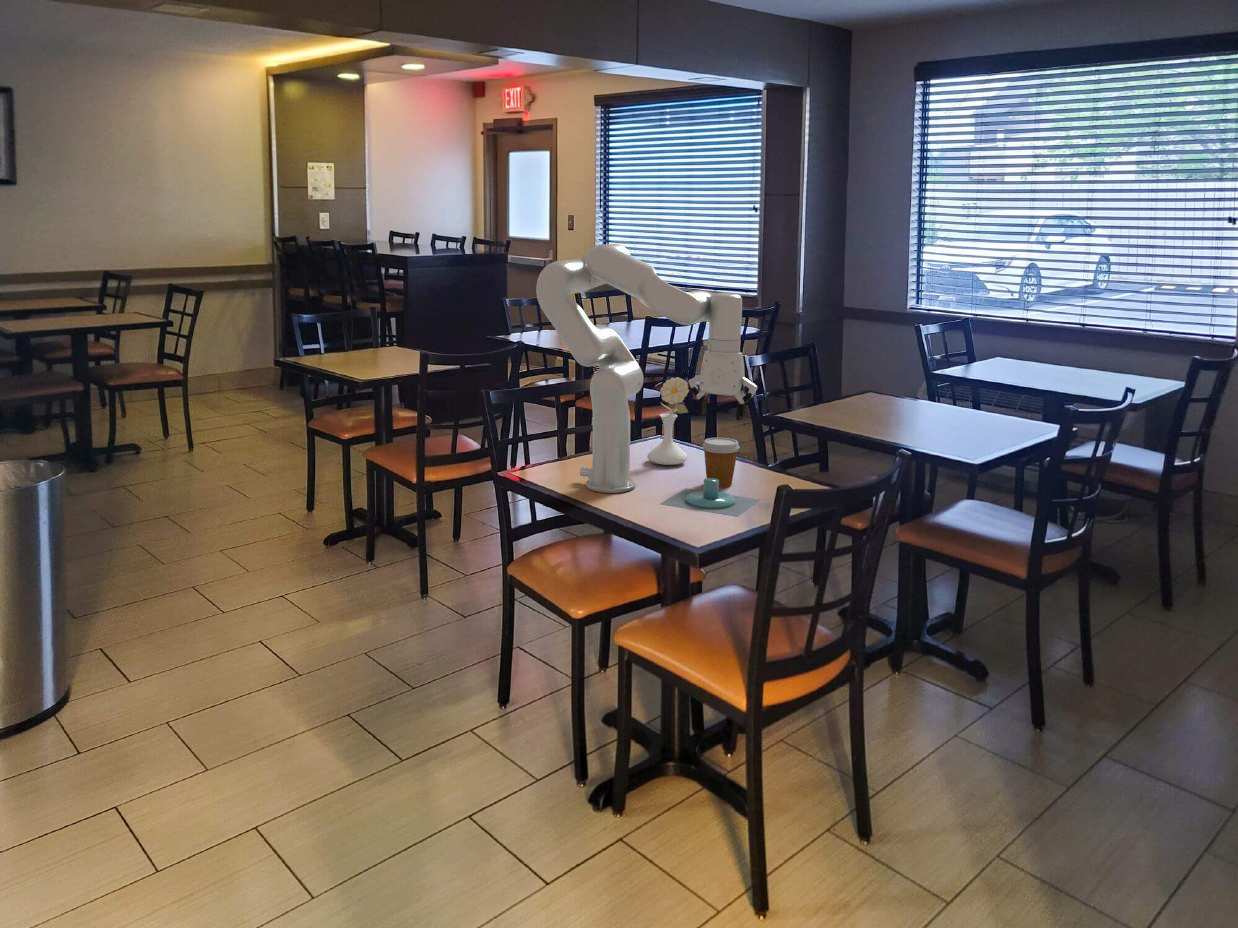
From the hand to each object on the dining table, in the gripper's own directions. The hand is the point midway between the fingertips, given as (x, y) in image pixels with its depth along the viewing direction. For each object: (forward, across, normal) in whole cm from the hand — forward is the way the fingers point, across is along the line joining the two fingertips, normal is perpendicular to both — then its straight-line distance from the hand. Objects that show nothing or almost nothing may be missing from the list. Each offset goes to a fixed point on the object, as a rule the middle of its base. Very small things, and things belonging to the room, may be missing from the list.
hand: (721, 417), depth 239 cm
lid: (+21, -1, -3) cm, 21 cm away
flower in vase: (+21, -26, +28) cm, 44 cm away
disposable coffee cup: (+21, -5, +13) cm, 25 cm away
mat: (+21, -1, -3) cm, 21 cm away
